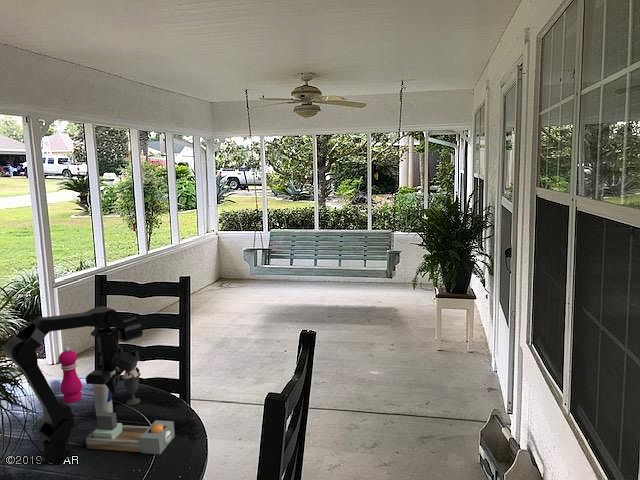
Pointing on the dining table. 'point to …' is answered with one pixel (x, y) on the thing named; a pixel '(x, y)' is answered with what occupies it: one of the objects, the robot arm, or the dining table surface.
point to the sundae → (131, 384)
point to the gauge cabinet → (157, 438)
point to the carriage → (107, 426)
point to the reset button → (157, 428)
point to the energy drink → (102, 399)
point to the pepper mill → (69, 377)
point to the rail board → (119, 440)
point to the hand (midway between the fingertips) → (114, 393)
